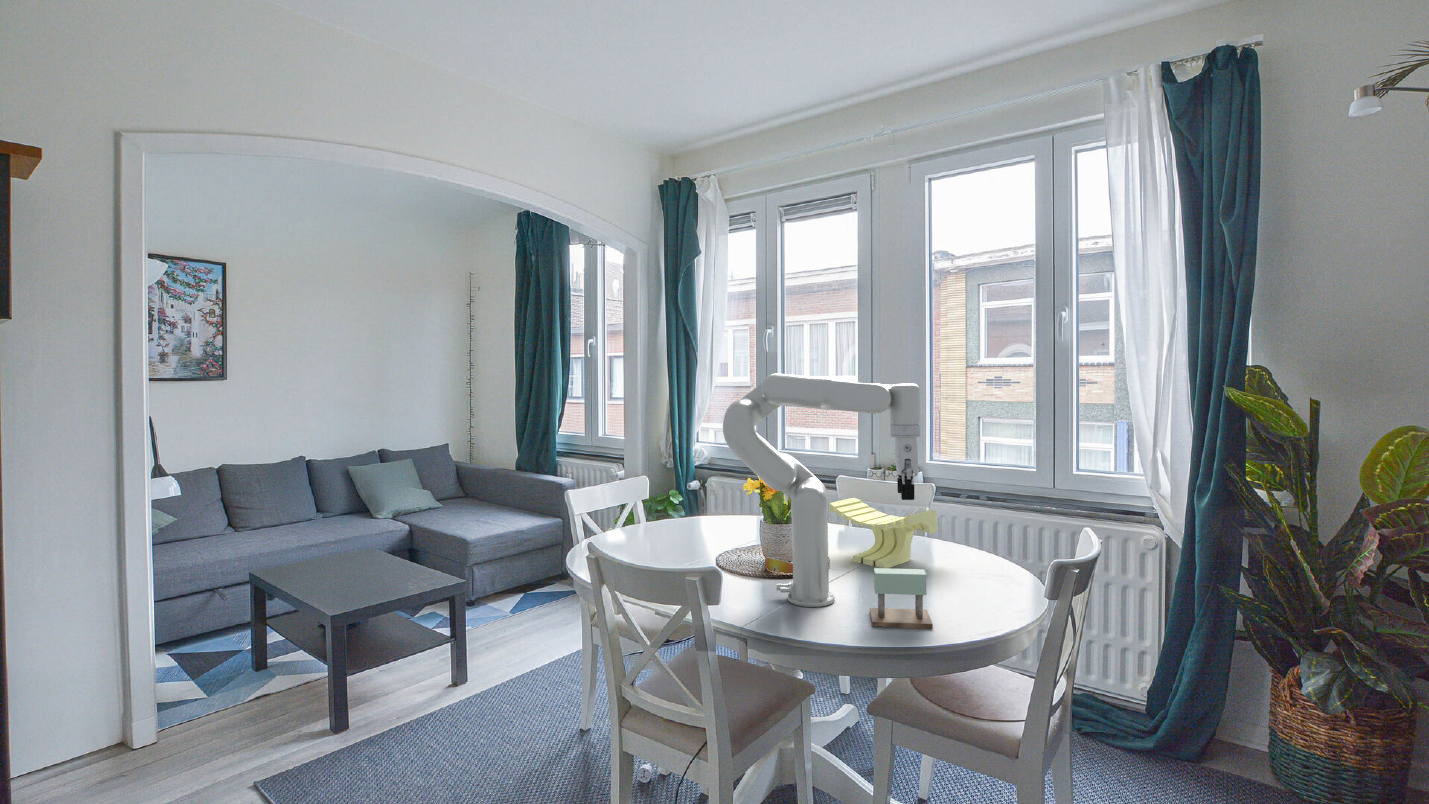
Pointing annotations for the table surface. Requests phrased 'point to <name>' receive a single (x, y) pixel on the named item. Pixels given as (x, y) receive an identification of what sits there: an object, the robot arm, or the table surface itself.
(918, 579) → the mint green rectangular block
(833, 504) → the slatted curved stool
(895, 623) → the peg stand
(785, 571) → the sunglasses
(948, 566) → the table surface
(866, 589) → the table surface
